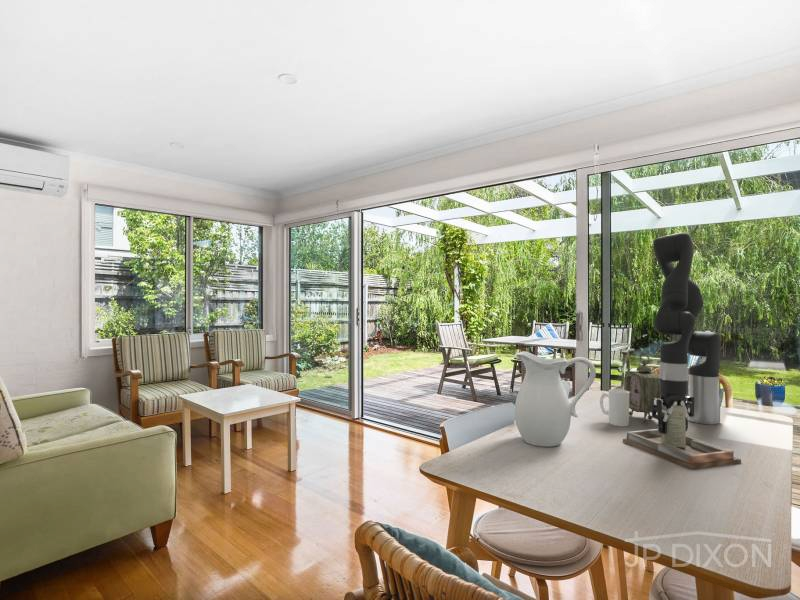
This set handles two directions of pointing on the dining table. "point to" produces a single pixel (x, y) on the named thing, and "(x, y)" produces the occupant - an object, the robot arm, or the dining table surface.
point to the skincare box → (675, 427)
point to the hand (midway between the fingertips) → (672, 432)
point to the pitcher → (546, 399)
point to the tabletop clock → (642, 388)
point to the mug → (617, 407)
